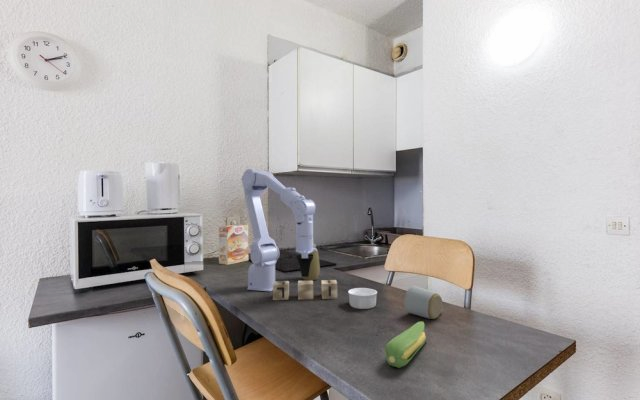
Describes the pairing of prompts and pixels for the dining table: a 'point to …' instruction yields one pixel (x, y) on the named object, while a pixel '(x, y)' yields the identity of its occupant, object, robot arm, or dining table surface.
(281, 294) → the numbered block seven
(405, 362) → the edible corn
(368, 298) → the ramekin
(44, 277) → the dining table surface
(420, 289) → the grey and brown cylinder
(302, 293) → the plain block
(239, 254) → the coffeecake box
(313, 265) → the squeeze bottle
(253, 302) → the dining table surface
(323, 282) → the numbered block one
